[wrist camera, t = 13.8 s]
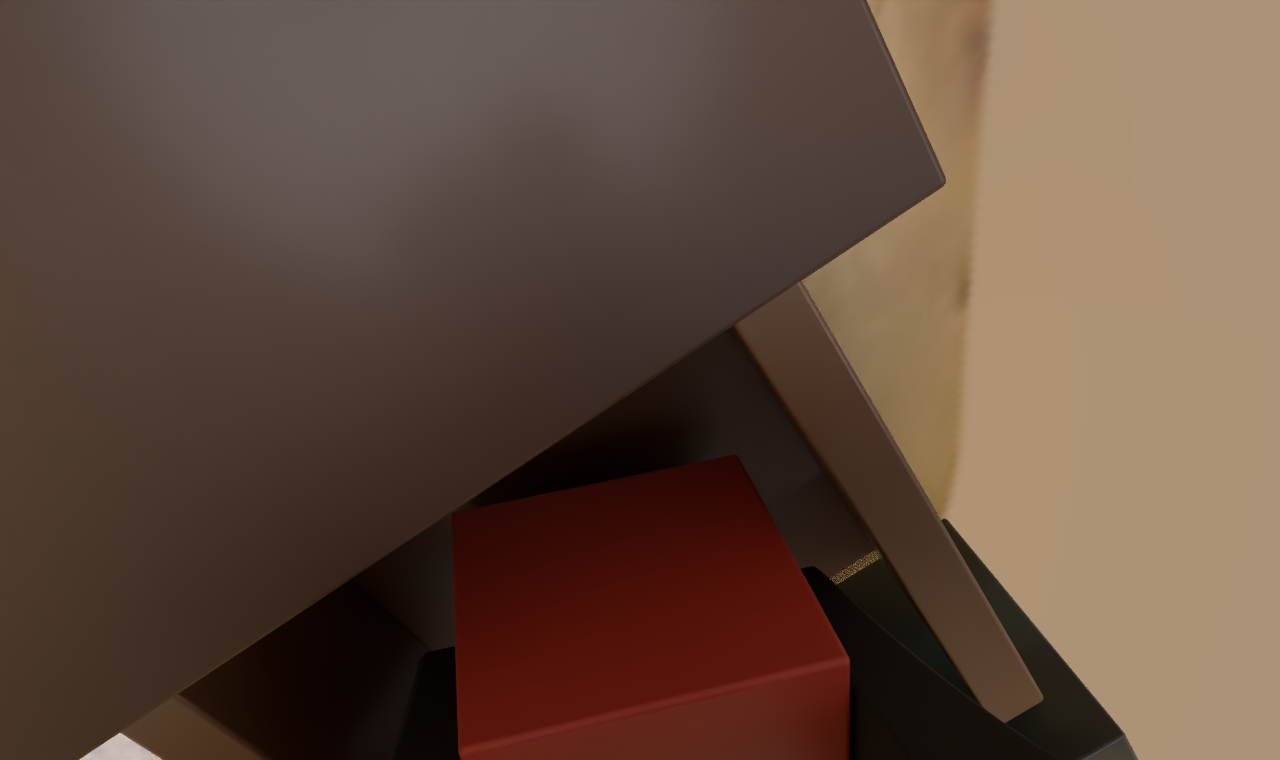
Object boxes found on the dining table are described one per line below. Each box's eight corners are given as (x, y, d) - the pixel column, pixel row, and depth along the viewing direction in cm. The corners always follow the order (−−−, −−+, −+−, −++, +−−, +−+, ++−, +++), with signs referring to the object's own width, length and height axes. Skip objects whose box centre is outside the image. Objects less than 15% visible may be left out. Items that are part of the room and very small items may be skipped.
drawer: (1040, 681, 20) (1216, 908, 16) (668, 901, 22) (732, 1174, 17) (635, -20, 12) (760, 31, 8) (56, 396, 13) (-145, 664, 9)
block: (738, 451, 13) (853, 658, 9) (752, 659, 15) (851, 895, 11) (449, 510, 12) (457, 754, 9) (503, 717, 14) (526, 984, 11)
